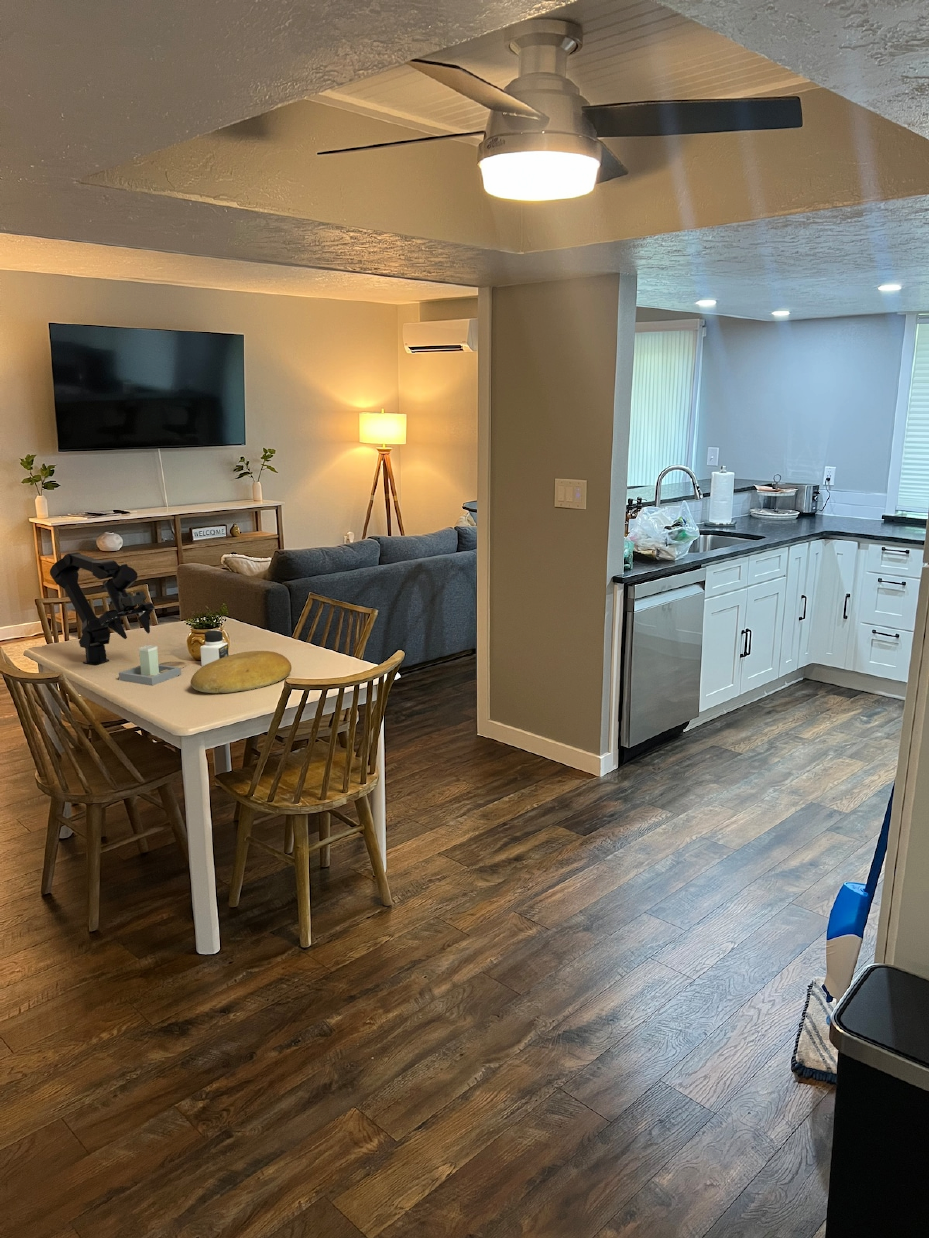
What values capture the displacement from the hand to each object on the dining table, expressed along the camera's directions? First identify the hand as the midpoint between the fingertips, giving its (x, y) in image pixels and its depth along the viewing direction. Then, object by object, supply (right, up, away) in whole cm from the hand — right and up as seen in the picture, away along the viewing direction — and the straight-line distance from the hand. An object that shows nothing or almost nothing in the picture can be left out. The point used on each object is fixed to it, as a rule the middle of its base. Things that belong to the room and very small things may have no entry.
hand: (137, 635), depth 308 cm
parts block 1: (+7, -15, -7) cm, 18 cm away
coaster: (+8, -11, +11) cm, 17 cm away
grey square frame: (+5, -14, -2) cm, 15 cm away
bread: (+38, -16, -9) cm, 42 cm away
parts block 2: (+10, -14, -1) cm, 17 cm away
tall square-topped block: (+5, -14, -2) cm, 15 cm away
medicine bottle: (+23, -10, +14) cm, 28 cm away
